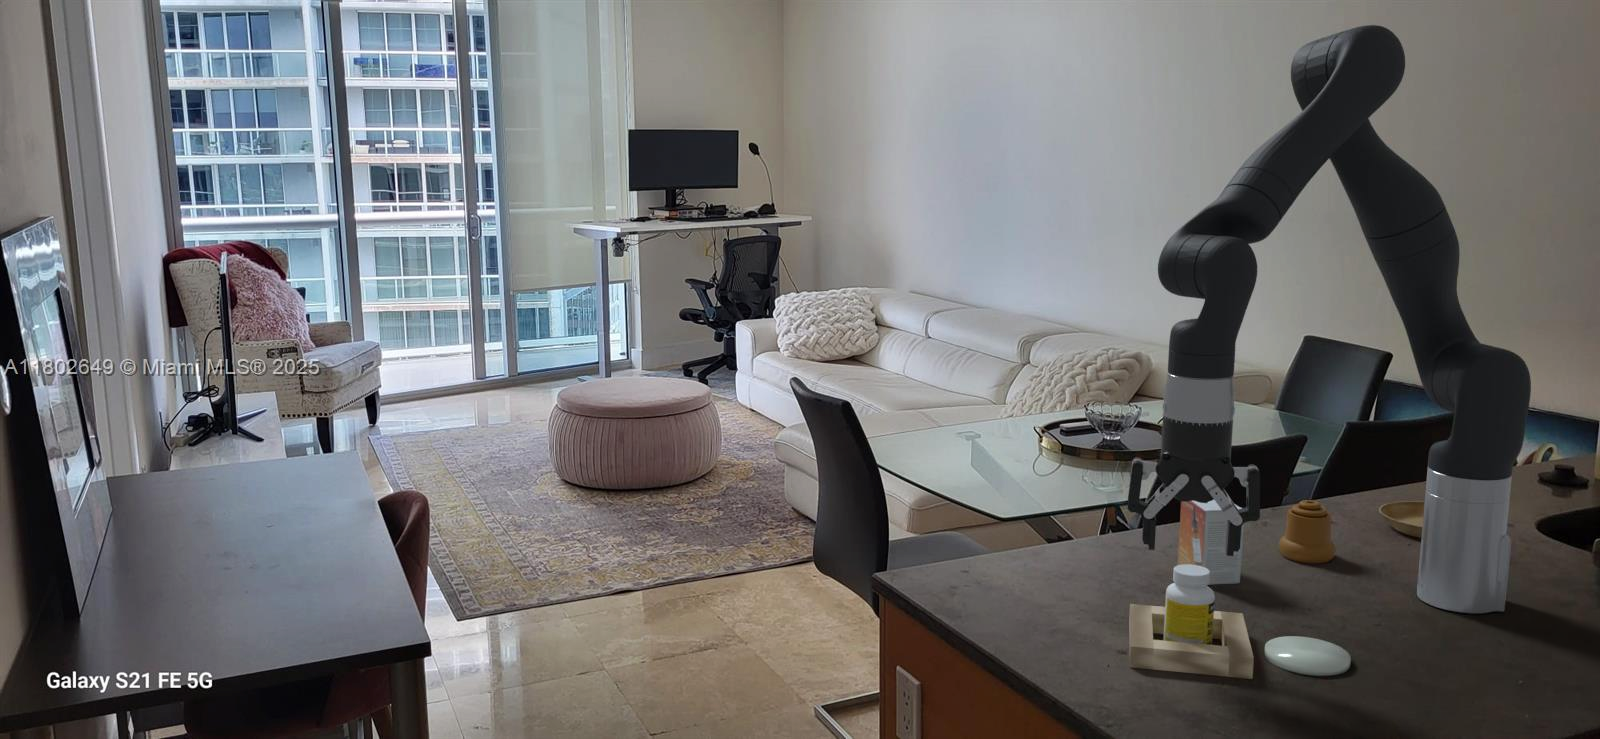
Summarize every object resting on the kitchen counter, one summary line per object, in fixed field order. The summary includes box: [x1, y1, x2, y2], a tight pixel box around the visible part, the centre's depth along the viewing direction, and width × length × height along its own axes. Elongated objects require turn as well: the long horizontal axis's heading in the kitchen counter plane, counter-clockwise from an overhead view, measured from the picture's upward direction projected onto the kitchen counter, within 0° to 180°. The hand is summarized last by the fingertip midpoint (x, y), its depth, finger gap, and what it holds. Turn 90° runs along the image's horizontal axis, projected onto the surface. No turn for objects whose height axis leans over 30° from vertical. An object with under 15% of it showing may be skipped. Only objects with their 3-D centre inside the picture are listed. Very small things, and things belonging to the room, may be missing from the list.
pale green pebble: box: [1264, 635, 1352, 677], centre depth 134 cm, size 9×9×1 cm
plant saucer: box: [1378, 500, 1425, 539], centre depth 179 cm, size 15×15×3 cm
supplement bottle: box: [1162, 564, 1216, 645], centre depth 136 cm, size 5×5×10 cm
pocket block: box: [1128, 603, 1255, 680], centre depth 137 cm, size 13×13×2 cm
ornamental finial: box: [1278, 499, 1337, 565], centre depth 167 cm, size 8×8×8 cm
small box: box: [1177, 500, 1245, 586], centre depth 160 cm, size 8×6×10 cm
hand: (1189, 551), depth 135 cm, fingers open, 8 cm apart
